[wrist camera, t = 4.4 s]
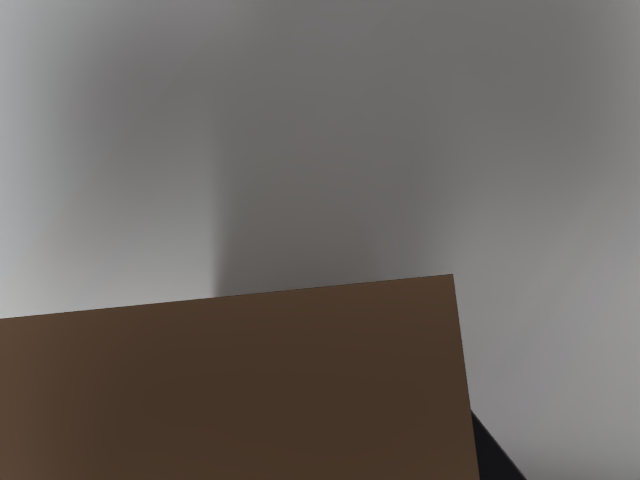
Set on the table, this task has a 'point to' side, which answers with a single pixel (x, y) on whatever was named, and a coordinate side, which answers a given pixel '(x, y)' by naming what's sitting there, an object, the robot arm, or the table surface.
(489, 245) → the table surface
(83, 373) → the block
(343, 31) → the table surface
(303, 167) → the table surface
